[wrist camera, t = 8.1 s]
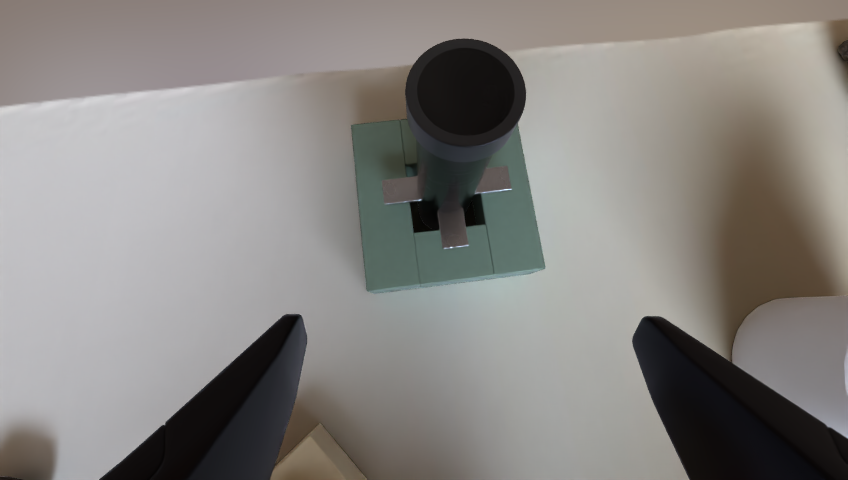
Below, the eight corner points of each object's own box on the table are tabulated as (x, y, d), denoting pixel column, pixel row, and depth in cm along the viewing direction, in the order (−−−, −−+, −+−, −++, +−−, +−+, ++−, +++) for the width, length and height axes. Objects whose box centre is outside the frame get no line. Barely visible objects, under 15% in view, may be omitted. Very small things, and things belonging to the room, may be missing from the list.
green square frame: (503, 130, 25) (514, 106, 22) (530, 274, 23) (546, 268, 20) (359, 146, 25) (350, 124, 22) (373, 293, 23) (366, 291, 20)
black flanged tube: (484, 154, 25) (553, -14, 12) (501, 252, 23) (599, 183, 11) (384, 165, 24) (344, 7, 12) (395, 266, 23) (364, 210, 10)
